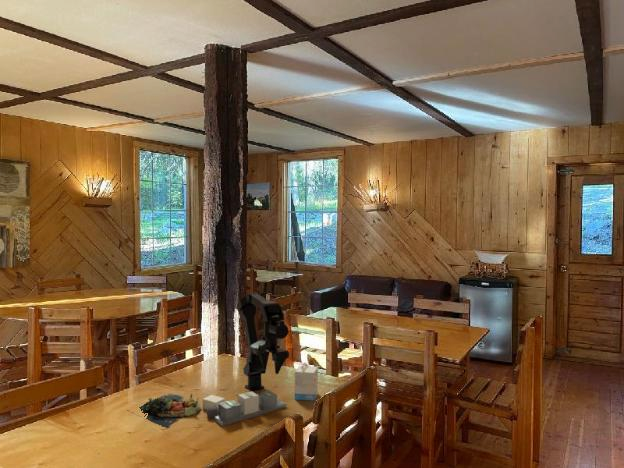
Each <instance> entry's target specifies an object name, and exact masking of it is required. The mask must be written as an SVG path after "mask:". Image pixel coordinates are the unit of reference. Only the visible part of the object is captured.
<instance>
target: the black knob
mask: <svg viewBox="0 0 624 468" xmlns="http://www.w3.org/2000/svg"><path fill="white" fill-rule="evenodd" d="M206 412H207V413H206V417H207V419H209V420H210V419H211V420H213V419H214V420H215V416H218V407H209V408H207V410H206Z"/></svg>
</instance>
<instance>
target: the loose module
mask: <svg viewBox="0 0 624 468" xmlns="http://www.w3.org/2000/svg"><path fill="white" fill-rule="evenodd" d="M237 403H239V404H240V405H241V413H243V414H244V415H246V414H250V413H253V412H257V411H259V395H257V394H256V392H254V391H251V390H250V391H247V392H243V393H239V394H237Z"/></svg>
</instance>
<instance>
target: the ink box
mask: <svg viewBox="0 0 624 468" xmlns="http://www.w3.org/2000/svg"><path fill="white" fill-rule="evenodd" d="M318 374H319V367H318V366H312V365H311V366H309V364H307V362H305V361H304V363H303V364H302V365H299V366H297V368H296V369H295V371H294V400H297V401H312V402H314V401H315V399H316V398H317V396H318V394H319V392H318V391H319V387H318V386H319V375H318Z"/></svg>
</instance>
